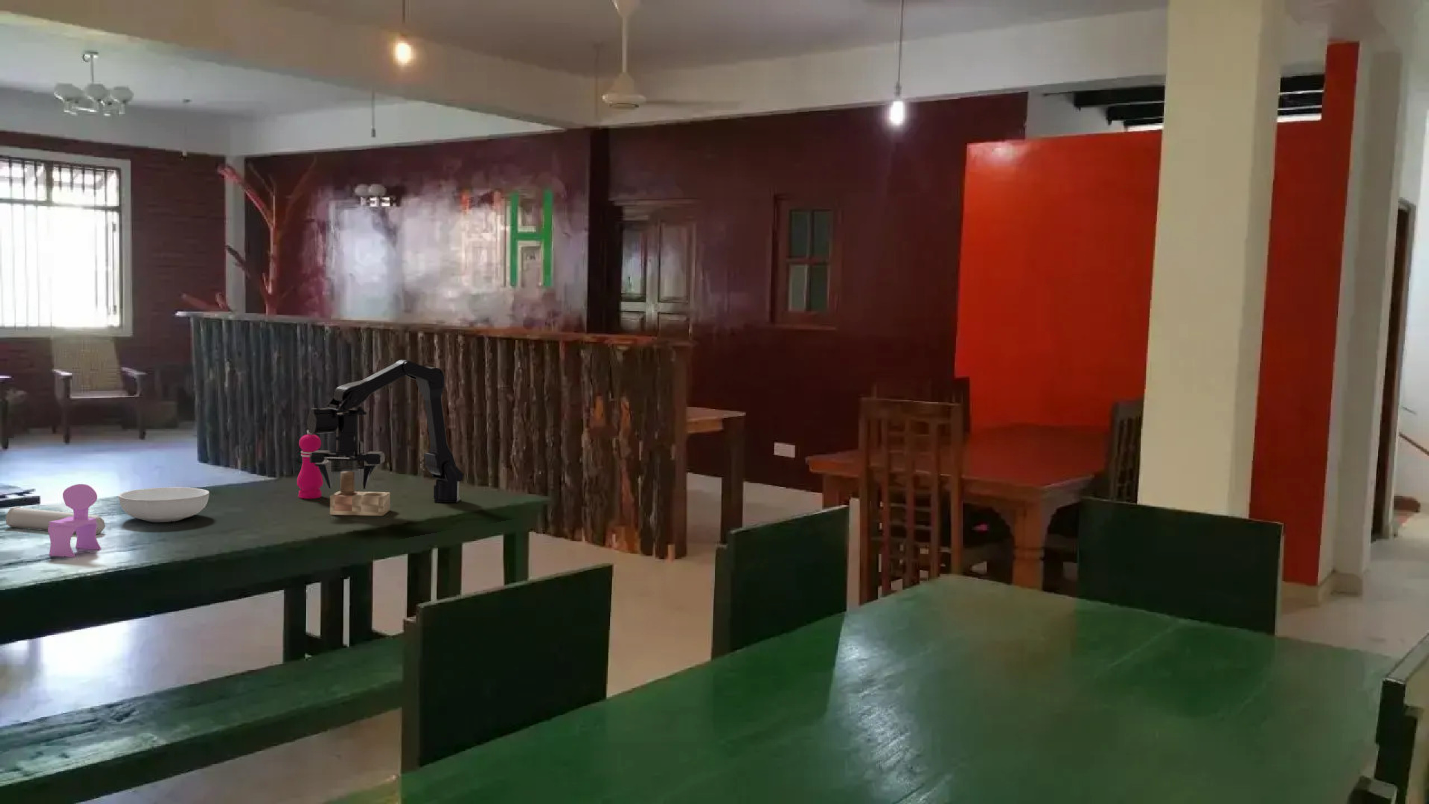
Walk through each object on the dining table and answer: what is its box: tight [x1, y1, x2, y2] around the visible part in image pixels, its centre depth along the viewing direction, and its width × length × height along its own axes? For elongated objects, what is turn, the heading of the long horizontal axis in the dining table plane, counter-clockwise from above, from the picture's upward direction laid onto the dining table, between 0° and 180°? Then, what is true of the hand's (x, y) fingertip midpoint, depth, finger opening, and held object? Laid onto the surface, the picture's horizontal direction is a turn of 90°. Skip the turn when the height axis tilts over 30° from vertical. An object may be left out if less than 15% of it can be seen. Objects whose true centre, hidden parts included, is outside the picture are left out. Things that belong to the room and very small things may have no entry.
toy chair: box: [47, 483, 102, 558], centre depth 242 cm, size 8×9×15 cm
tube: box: [5, 506, 106, 535], centre depth 264 cm, size 5×5×25 cm
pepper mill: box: [296, 429, 324, 500], centre depth 318 cm, size 7×7×20 cm
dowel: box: [340, 470, 355, 496], centre depth 298 cm, size 4×4×10 cm
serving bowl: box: [118, 486, 210, 523], centre depth 281 cm, size 21×21×7 cm
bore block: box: [329, 490, 391, 517], centre depth 298 cm, size 14×8×5 cm, turn 94°
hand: (347, 488), depth 298 cm, fingers open, 9 cm apart
